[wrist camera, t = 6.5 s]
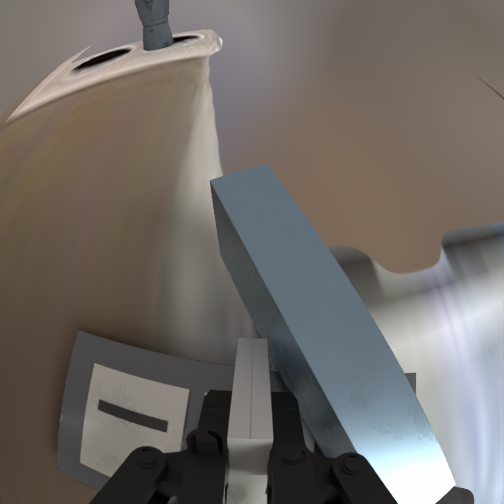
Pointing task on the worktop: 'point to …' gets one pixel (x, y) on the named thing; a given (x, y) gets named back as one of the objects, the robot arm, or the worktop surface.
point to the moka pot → (154, 23)
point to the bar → (326, 339)
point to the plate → (143, 410)
